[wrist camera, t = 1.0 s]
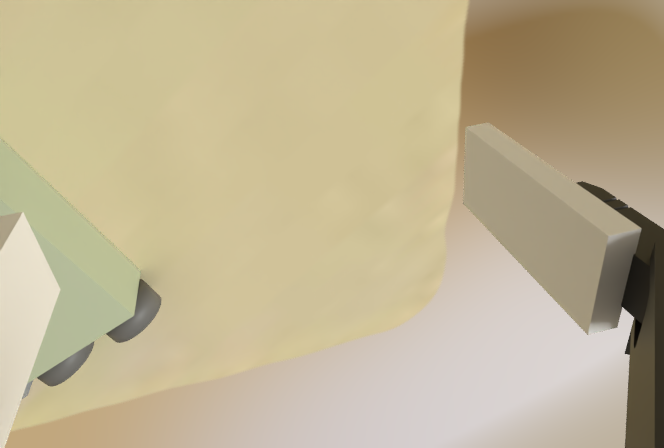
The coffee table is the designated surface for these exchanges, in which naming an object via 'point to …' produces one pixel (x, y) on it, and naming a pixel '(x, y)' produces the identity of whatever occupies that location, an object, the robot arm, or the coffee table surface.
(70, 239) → the green wheeled box
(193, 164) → the coffee table surface
